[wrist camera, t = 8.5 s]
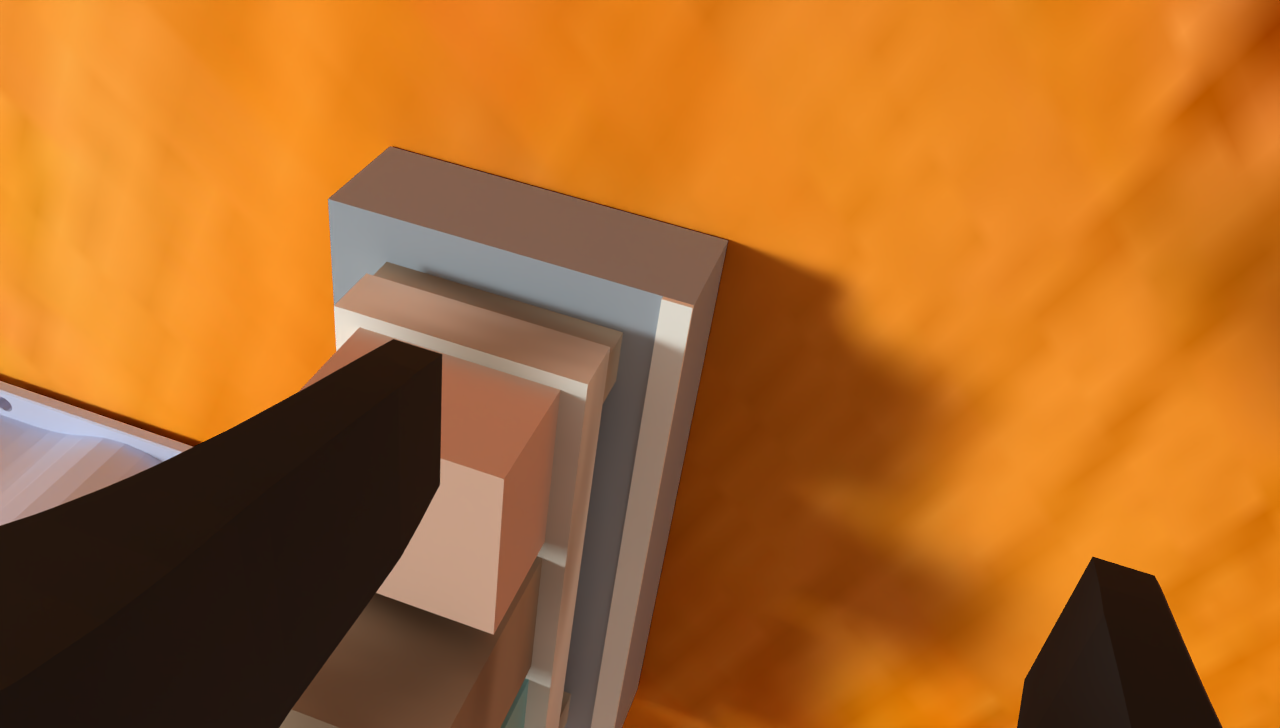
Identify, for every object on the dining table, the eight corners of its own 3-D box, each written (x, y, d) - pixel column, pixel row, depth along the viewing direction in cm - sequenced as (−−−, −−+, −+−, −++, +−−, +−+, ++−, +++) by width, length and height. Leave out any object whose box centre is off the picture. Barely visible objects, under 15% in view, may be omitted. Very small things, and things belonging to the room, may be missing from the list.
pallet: (394, 662, 30) (243, 903, 25) (386, 253, 22) (160, 479, 17) (566, 725, 29) (449, 988, 24) (624, 324, 21) (466, 586, 16)
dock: (397, 603, 33) (352, 671, 31) (390, 146, 24) (325, 201, 22) (637, 688, 32) (606, 765, 30) (727, 240, 22) (692, 308, 20)
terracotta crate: (365, 481, 23) (299, 565, 21) (359, 327, 21) (284, 406, 19) (544, 542, 23) (493, 634, 21) (560, 389, 20) (503, 479, 18)
